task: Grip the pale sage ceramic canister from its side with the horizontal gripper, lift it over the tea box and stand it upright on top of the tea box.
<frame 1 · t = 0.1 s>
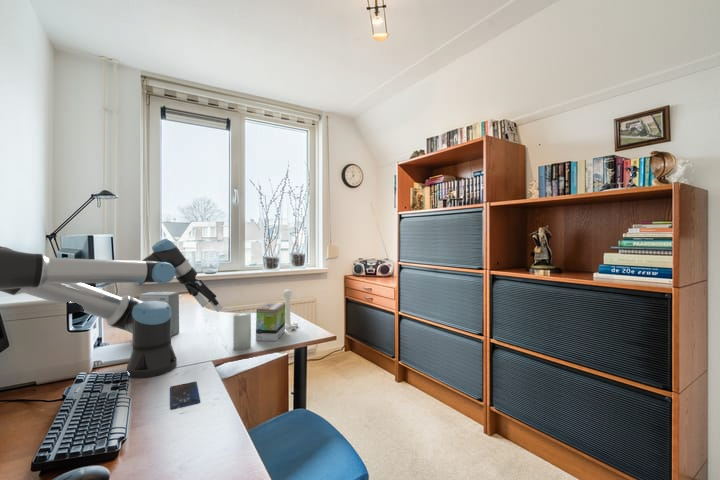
hand: (212, 307, 147), 15 cm above the table, tool tilted 35°, fingers open, 13 cm apart
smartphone: (184, 396, 98), on the table
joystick: (290, 327, 169), on the table
hard drive box: (159, 335, 155), on the table
tea box: (271, 336, 155), on the table
canister: (242, 346, 140), on the table
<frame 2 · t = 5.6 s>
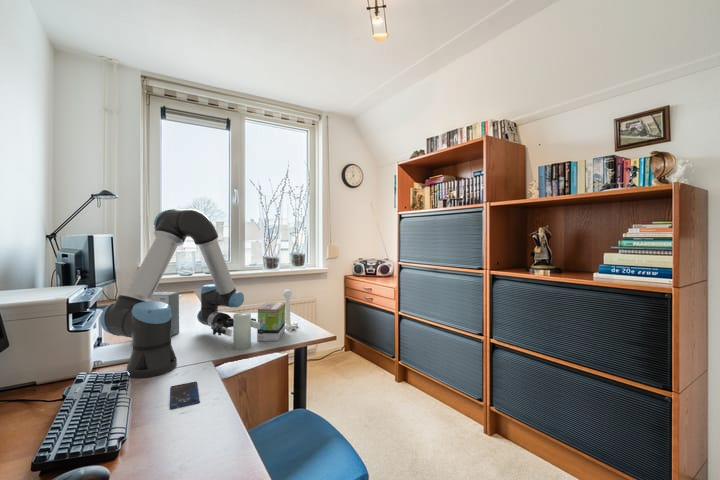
hand: (245, 329, 138), 8 cm above the table, tool horizontal, fingers open, 13 cm apart
tea box: (271, 336, 155), on the table, touching gripper
everything else where it was.
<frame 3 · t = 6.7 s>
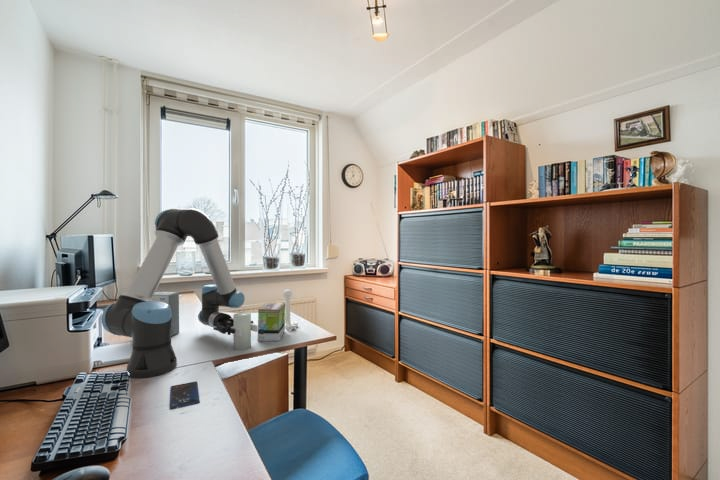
hand: (248, 330, 137), 8 cm above the table, tool horizontal, fingers closed on canister, 7 cm apart
tea box: (271, 336, 155), on the table
canister: (242, 346, 140), on the table, touching gripper
everything else where it was.
when the fingers open (25 cm above the table, at t = 12.3 s): canister drops 2 cm, resting on tea box.
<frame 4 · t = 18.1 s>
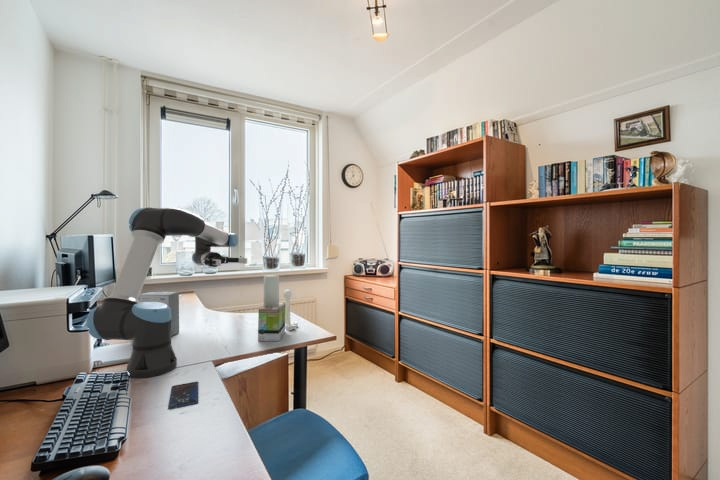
hand: (233, 261, 156), 35 cm above the table, tool horizontal, fingers open, 13 cm apart
tea box: (272, 336, 155), on the table, touching canister
canister: (271, 305, 155), point 15 cm above the table, touching tea box
everything else where it was.
at the end: canister inside the target area on the tea box (0.5 cm from its centre), point 15.0 cm above the tea box's base; canister tilted 0°; the gripper is holding nothing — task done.
